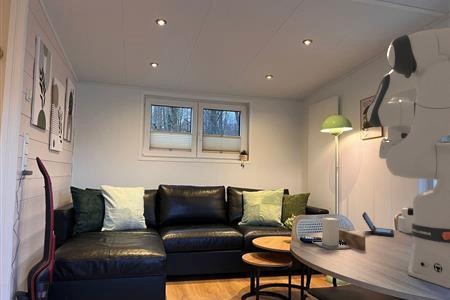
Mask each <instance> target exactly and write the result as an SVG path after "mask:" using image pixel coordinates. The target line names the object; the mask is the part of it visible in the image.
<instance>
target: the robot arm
mask: <svg viewBox="0 0 450 300" xmlns="http://www.w3.org/2000/svg"><path fill="white" fill-rule="evenodd" d="M387 62H388V63H389V66H390V68H391V71H390V72H389V73H386V74H385V75H383V77H382V79H381V81H380V83H379V86H378V88H377V90H376V92H375V95H374V97H373V99H372V102H371V103H370V105H369V107H368V109H367V114H366V118H367V122H368V124H370V126H372V127H374V128H383V127H387V137H383V139H382V140H381V141H380V145H379V152H378V156H379V158H380V159H381V160H382V159H383V160H385V163H386V168H387V169H388V171H389V172H390V173H391V174H392V175H393V176H396V177H401V178H404V179H406V178H407V179H416V180H417V179H418V180H419V179H420V180H436V184H435V185H434V186H433V188H430V189H427V190H425V191H423V192H420V193H418V194H417V195H416V196H415V197H414V199H413V202H412V208H413V223H412V228H411V230H412V233H411V235H412V245H411V250H410V251H411V252H410V259H409V262H408V265H407V275H409V276H411V277H414V278H418V279H420V280H423V281H425V282H428V283H431V284H435V285H438V286H441V287H444V288H447V289H450V142H439V141H441V140H442V139H445V138H448V137H449V136H450V27H445V28H436V29H433V28H432V29H426V30H423V31H422V30H421V31H416V32H413V33H411V34H408V35H407V34H403V35H400V36H398V37H396V38H394V39H392V41H391V43H390V44H389V47H388V50H387ZM414 89H416V92H415V93H416V94H415V101H412V100H410V98H409V97H407V96H395V97H393V98H391V99H390V100H389V98H390V97H392V96H393V95H395V94H398V93H402V92H405V91H411V90H414ZM388 100H389V101H388ZM438 142H439V143H438Z"/></svg>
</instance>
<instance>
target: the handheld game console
mask: <svg viewBox="0 0 450 300" xmlns="http://www.w3.org/2000/svg"><path fill="white" fill-rule="evenodd" d="M362 219H363V220H364V221H365V223H366V225H367V226H368V228H369V230H370V231H371V235H373V236H382V237H390V238H392V237H394V229H390V228H383V227H376V226H375V225H374V223H373V221H372V220H371V218H370V217H369V215H368V214H367V212H366V211H364V212H363V213H362Z"/></svg>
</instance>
